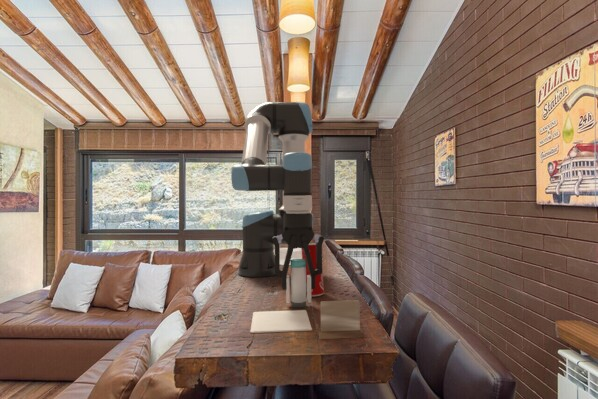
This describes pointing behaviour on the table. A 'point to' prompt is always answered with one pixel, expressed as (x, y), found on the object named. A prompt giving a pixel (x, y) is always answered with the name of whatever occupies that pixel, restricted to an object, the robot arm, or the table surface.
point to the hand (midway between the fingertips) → (298, 301)
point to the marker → (298, 283)
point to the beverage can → (319, 278)
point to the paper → (280, 321)
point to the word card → (340, 320)
